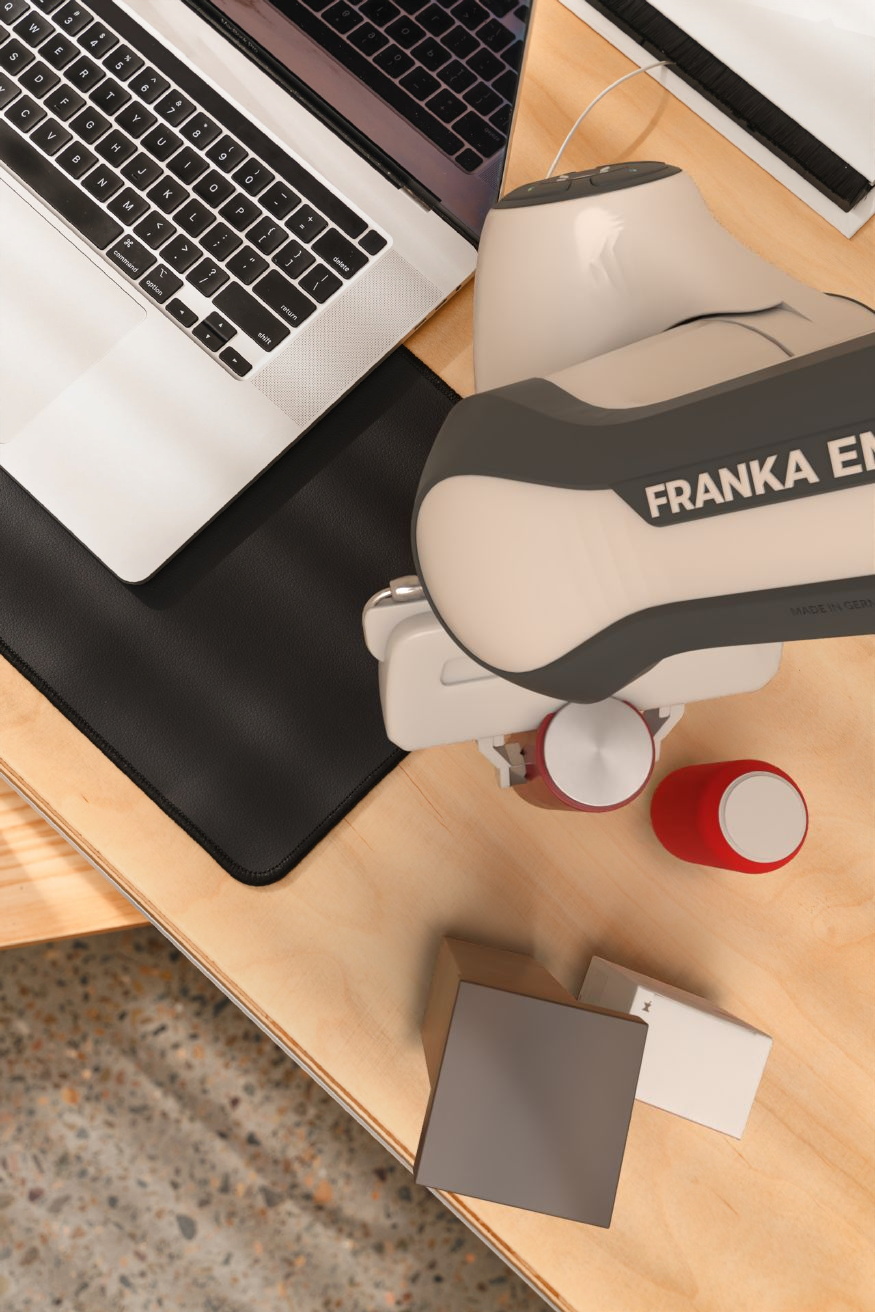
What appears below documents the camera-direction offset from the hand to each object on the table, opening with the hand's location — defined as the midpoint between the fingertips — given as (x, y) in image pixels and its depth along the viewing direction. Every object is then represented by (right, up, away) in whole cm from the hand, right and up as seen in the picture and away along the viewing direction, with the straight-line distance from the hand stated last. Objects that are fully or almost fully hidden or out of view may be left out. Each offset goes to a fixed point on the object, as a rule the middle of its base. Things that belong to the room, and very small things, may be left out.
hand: (576, 767), depth 53 cm
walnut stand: (-5, -15, +7) cm, 18 cm away
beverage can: (+9, -4, +10) cm, 14 cm away
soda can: (-1, 0, +7) cm, 7 cm away
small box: (+5, -17, +8) cm, 19 cm away
